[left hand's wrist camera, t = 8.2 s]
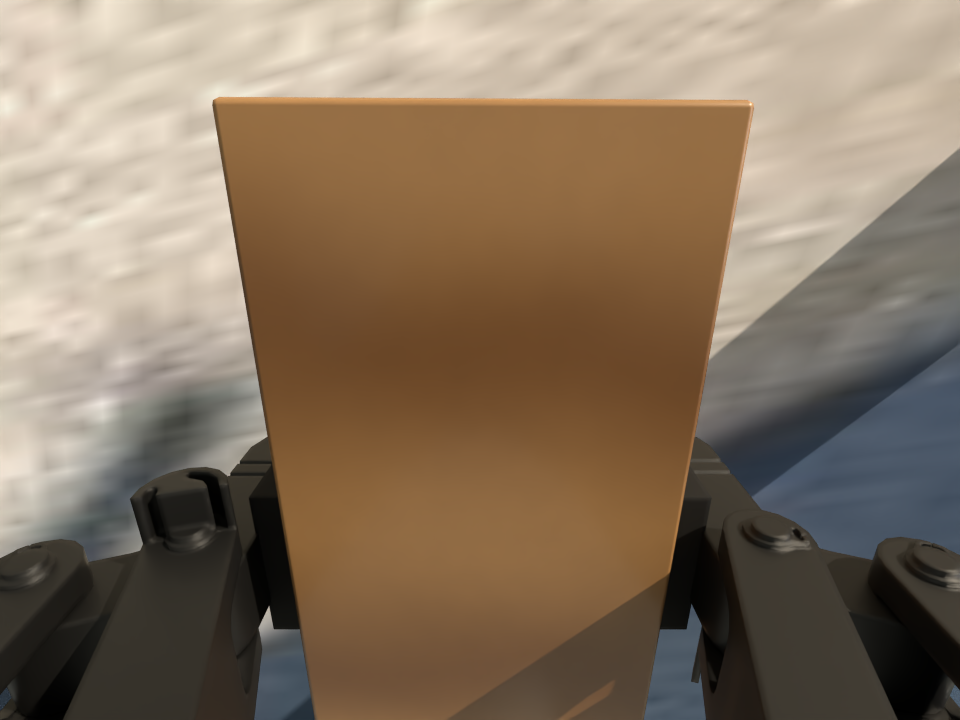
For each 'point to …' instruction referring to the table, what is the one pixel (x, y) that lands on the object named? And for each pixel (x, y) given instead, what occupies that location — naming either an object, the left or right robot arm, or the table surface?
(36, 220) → the table surface
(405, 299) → the post
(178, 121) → the table surface
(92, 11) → the table surface
